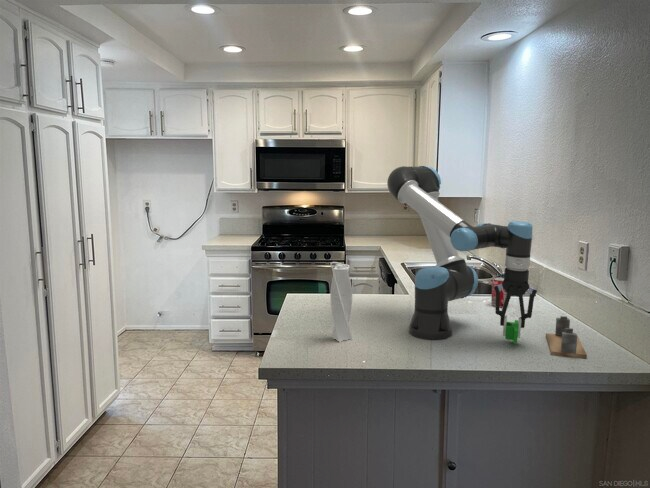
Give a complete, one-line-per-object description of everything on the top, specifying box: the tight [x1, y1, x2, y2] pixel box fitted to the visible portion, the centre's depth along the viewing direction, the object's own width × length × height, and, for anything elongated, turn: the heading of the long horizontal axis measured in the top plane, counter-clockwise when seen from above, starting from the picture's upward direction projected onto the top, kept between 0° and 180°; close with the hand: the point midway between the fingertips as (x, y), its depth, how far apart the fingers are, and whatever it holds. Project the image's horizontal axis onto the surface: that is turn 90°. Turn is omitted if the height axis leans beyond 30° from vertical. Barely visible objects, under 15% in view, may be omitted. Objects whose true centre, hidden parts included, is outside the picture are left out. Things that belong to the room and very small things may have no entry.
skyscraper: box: [329, 261, 353, 342], centre depth 168 cm, size 8×7×28 cm
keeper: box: [545, 315, 588, 359], centre depth 159 cm, size 10×18×8 cm, turn 161°
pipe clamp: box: [504, 319, 519, 345], centre depth 162 cm, size 11×4×5 cm, turn 158°
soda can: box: [491, 276, 507, 309], centre depth 207 cm, size 7×7×12 cm
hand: (511, 335), depth 163 cm, fingers closed on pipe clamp, 4 cm apart
